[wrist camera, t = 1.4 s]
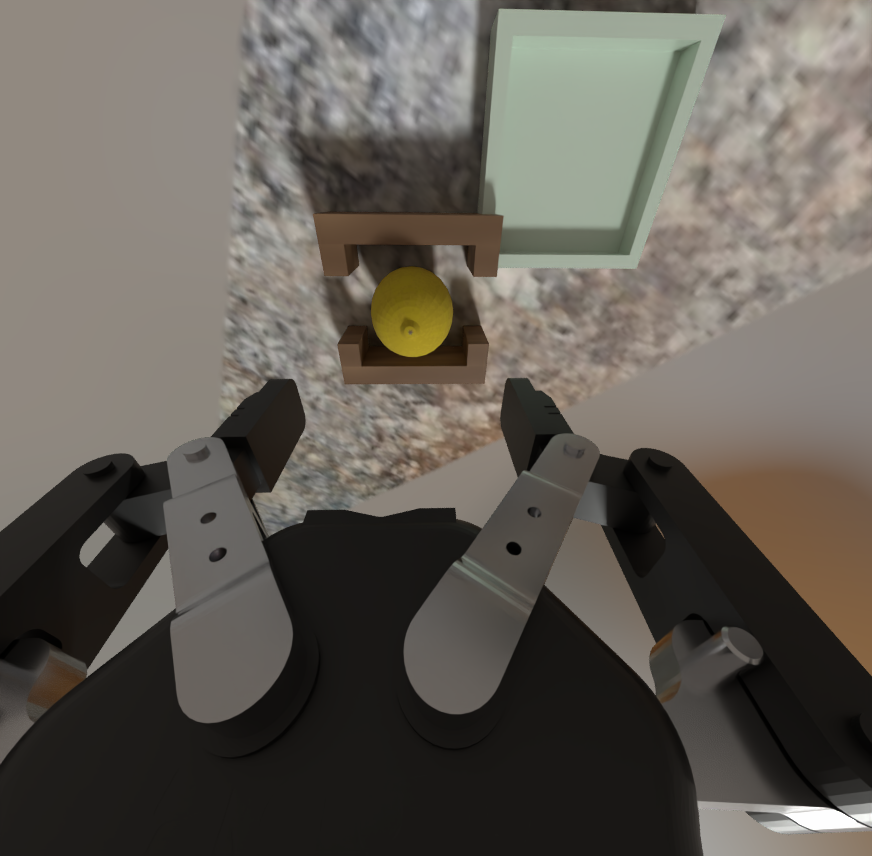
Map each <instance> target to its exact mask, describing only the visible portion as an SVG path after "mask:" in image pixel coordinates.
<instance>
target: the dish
mask: <svg viewBox="0 0 872 856" xmlns="http://www.w3.org/2000/svg"><path fill="white" fill-rule="evenodd" d="M725 17H726V15H715V14H678V13H640V12H603V11H566V10H529V9H499V10H498V12H497V15H496V18H495V20H494V23H493V25H492V28H491V34H490V47H489V61H488V75H487V89H486V102H485V116H484V130H483V144H482V157H481V171H480V185H479V199H478V212H477V213H479V214H498V215H503V216H504V217H503V226H502V235H501V244H500V252H499V261H498V268H632V269H636V268H637V265H638V262H639V260H640V257H641V254H642V251H643V248H644V245H645V243H646V240H647V237H648V234H649V231H650V229H651V226H652V223H653V220H654V217H655V214H656V212H657V209H658V206H659V203H660V200H661V197H662V195H663V192H664V189H665V186H666V183H667V181H668V178H669V175H670V172H671V169H672V166H673V164H674V161H675V158H676V155H677V152H678V150H679V147H680V144H681V141H682V138H683V135H684V133H685V130H686V127H687V124H688V121H689V118H690V116H691V113H692V110H693V107H694V104H695V102H696V99H697V96H698V93H699V90H700V87H701V85H702V82H703V79H704V76H705V73H706V70H707V68H708V65H709V62H710V59H711V56H712V54H713V51H714V48H715V45H716V42H717V39H718V37H719V34H720V31H721V28H722V25H723V23H724V20H725Z"/></svg>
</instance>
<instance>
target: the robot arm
mask: <svg viewBox="0 0 872 856" xmlns="http://www.w3.org/2000/svg"><path fill="white" fill-rule="evenodd" d="M500 421H501V428H502V431H503V434H504V437H505V440H506V443H507V446H508V449H509V452H510V455H511V458H512V461H513V464H514V467H515V470H516V473H517V476H518V478H517V480H516V481H515V483H514V484H513V486H512V487H511V489H510V490H509V491H508V493H507V494H506V496H505V497H504V498H503V500H502V502H501V503H500V504H499V506H498V507H497V508H496V510H495V511H494V513H493V514H492V515H491V517H490V518H489V520H488V521H487V523H486V524H485V525H484V527H483V528H480V527H478V526H476V525H474V524H472V523H469V522H466V521H462V520H458V519H456V512H455V508H419V509H415V510H411V511H406V512H402V513H398V514H393V515H389V516H384V517H376V516H372V515H367V514H362V513H357V512H352V511H348V510H308V511H307V513H306V516H305V519H304V521H303V523H299V524H296V525H293V526H290V527H287V528H285V529H283V530H280V531H278V532H277V533H275V534H273V535H271V536H270V537H269V535H268V533H267V530H266V528H265V525H264V523H263V521H262V518H261V516H260V514H259V511H258V509H257V507H256V504H255V502H254V500H253V496H254V495H255V493H262V492H272V490H273V488H274V486H275V484H276V482H277V480H278V478H279V476H280V474H281V473H282V471H283V469H284V467H285V465H286V463H287V461H288V459H289V457H290V455H291V454H292V452H293V450H294V448H295V446H296V444H297V442H298V440H299V438H300V436H301V435H302V433H303V431H304V428H305V413H304V410H303V406H302V403H301V399H300V396H299V393H298V389H297V386H296V383H295V381H294V380H293V379H270V380H269V381H268V382H267V383H266V384H265V385H264V387H263V388H262V389H261V390H260V391H259V392H256V393H254V394H253V395H251V396H249V397H248V398H246V399H244V401H243V402H242V403H241V404H240V405H239V406H238V407H237V410H234V412H233V413H232V414H231V417H228V418H227V419H226V420H225V422H224V423H223V424H222V425H221V426H220V427H219V428H218V429H217V430H216V432H215V433H214V434H213V435H212V436H211V437H205V438H199V439H195V440H192V441H190V442H187V443H185V444H183V445H181V446H179V447H178V448H176V449H175V450H174V451H173V452H172V453H171V454H170V455H169V456H168V458H167V461H164V462H160V463H155V464H150V465H144V466H140V465H139V464H138V463H137V461H136V460H135V459H134V458H133V456H131V455H129V454H113V455H107V456H104V457H101V458H98V459H95V460H92V461H90V462H88V463H86V464H84V465H82V466H81V467H79V468H77V469H76V470H75V471H73V472H72V473H71V474H70V475H68V476H67V477H66V478H65V479H64V480H62V481H61V482H60V483H59V484H58V485H56V486H55V487H54V488H53V489H52V490H50V491H49V492H48V493H47V494H45V495H44V496H43V497H42V498H41V499H39V500H38V501H37V502H36V503H35V504H34V505H32V506H31V507H30V508H29V509H28V510H26V511H25V512H24V513H23V514H21V515H20V516H19V517H18V518H17V519H15V520H14V521H13V522H12V523H11V524H9V525H8V526H7V527H6V528H4V529H3V530H2V531H1V532H0V856H703V850H702V844H701V837H700V824H699V812H698V809H714V810H733V811H734V810H735V811H745V812H746V813H747V814H748V815H750V816H751V817H752V818H753V819H755V820H756V821H757V822H758V823H760V824H761V825H763V826H765V827H766V828H768V829H770V830H772V831H775V832H778V833H782V834H808V833H832V832H858V831H872V676H871V675H870V674H869V673H868V672H867V671H866V669H865V668H864V667H863V666H862V665H861V664H860V663H859V661H858V660H857V659H856V658H855V657H854V656H853V655H852V654H851V653H850V651H849V650H848V649H847V648H846V647H845V646H844V645H843V643H842V642H841V641H840V640H839V639H838V638H837V637H836V636H835V634H834V633H833V632H832V631H831V630H830V629H829V628H828V627H827V626H826V624H825V623H824V622H823V621H822V620H821V619H820V618H819V616H818V615H817V614H816V613H815V612H814V611H813V610H812V609H811V607H810V606H809V605H808V604H807V603H806V602H805V601H804V600H803V599H802V598H801V596H800V595H799V594H798V593H797V592H796V590H795V589H794V588H793V587H792V586H791V585H790V584H789V583H788V581H787V580H786V579H785V578H784V577H783V576H782V575H781V574H780V573H779V571H778V570H777V569H776V568H775V567H774V566H773V565H772V563H771V562H770V561H769V560H768V559H767V558H766V557H765V556H764V554H763V553H762V552H761V551H760V550H759V549H758V548H757V547H756V545H755V544H754V543H753V542H752V541H751V540H750V539H749V538H748V536H747V535H746V534H745V533H744V532H743V531H742V530H741V529H740V527H739V526H738V525H737V524H736V523H735V522H734V521H733V520H732V518H731V517H730V516H729V515H728V514H727V513H726V512H725V511H724V509H723V508H722V507H721V506H720V505H719V504H718V503H717V501H716V500H715V499H714V498H713V497H712V496H711V495H710V494H709V493H708V491H707V490H706V489H705V488H704V487H703V486H702V485H701V483H699V481H698V480H697V479H696V478H695V477H694V476H693V474H692V473H691V472H690V471H689V470H688V469H687V468H686V467H685V465H684V464H683V463H681V462H680V461H679V460H678V459H676V458H675V457H673V456H671V455H669V454H667V453H665V452H662V451H660V450H656V449H651V448H640V449H637V450H634V451H633V452H632V454H631V455H630V457H629V460H625V459H620V458H615V457H611V456H606V455H602V454H600V451H599V449H598V447H597V446H596V445H595V444H594V443H593V442H592V441H590V440H588V439H587V438H585V437H582V436H579V435H575V434H574V433H573V432H572V430H571V428H570V427H569V425H568V424H567V422H566V421H565V419H564V417H563V416H562V414H560V411H559V409H558V408H556V405H555V403H554V402H553V400H552V398H551V397H549V396H548V395H546V394H545V393H544V392H542V391H535V390H534V388H533V386H532V384H531V383H530V381H529V379H528V378H508V379H507V380H506V383H505V389H504V396H503V402H502V408H501V417H500ZM573 518H577V519H580V520H585V521H588V522H593V523H597V524H600V525H601V526H602V528H603V530H604V532H605V535H606V537H607V539H608V541H609V543H610V545H611V548H612V549H613V552H614V554H615V556H616V558H617V561H618V563H619V564H620V567H621V569H622V571H623V573H624V575H625V578H626V580H627V582H628V584H629V586H630V588H631V590H632V593H633V595H634V597H635V599H636V601H637V603H638V605H639V607H640V610H641V612H642V614H643V616H644V618H645V620H646V623H647V624H648V627H649V629H650V631H651V633H652V635H653V637H654V640H655V642H656V644H655V645H654V646H653V647H652V649H651V651H650V656H649V664H650V670H651V673H652V676H653V679H654V683H655V689H656V695H655V694H654V693H653V691H652V690H651V689H650V688H649V686H648V685H647V684H646V683H645V682H644V681H643V680H642V679H641V678H640V676H639V675H638V674H637V673H636V672H635V671H634V670H633V669H632V668H631V667H629V666H628V665H627V664H626V663H625V662H624V661H623V660H622V659H621V658H620V657H619V656H618V655H617V654H616V653H615V652H614V651H613V650H612V649H611V648H610V647H609V646H608V645H607V644H605V643H604V642H603V641H602V640H601V639H600V638H599V637H598V636H597V635H596V634H595V633H594V632H593V631H592V630H591V629H590V628H589V627H588V626H587V625H586V624H585V623H584V622H583V621H581V620H580V619H579V618H578V617H577V616H576V615H575V614H574V613H573V612H572V611H571V610H570V609H569V608H568V607H567V606H566V605H565V604H564V603H563V602H562V601H561V600H560V599H558V598H557V597H556V596H555V595H554V594H553V593H552V592H551V591H550V590H549V589H548V588H547V587H546V586H545V585H544V584H545V582H546V579H547V577H548V575H549V572H550V570H551V568H552V566H553V563H554V561H555V559H556V556H557V554H558V552H559V549H560V547H561V545H562V542H563V540H564V538H565V536H566V533H567V531H568V529H569V526H570V524H571V522H572V520H573ZM103 522H104V523H105V524H106V525H107V526H108V527H109V528H110V529H111V530H112V531H113V532H114V533H115V535H114V536H113V537H112V539H111V540H110V541H109V542H108V543H107V544H106V546H105V547H104V548H103V549H102V550H101V551H100V553H99V554H98V555H97V556H96V557H95V558H94V560H93V561H92V562H91V563H90V564H89V565H88V567H87V568H86V567H85V566H84V565H83V564H82V563H81V562H80V558H79V555H80V550H81V548H82V546H83V544H84V543H85V541H86V540H87V539H88V538H89V537H90V536H91V535H92V534H93V533H94V532H95V531H96V530H97V529H98V527H99V526H100V525H101V524H102V523H103ZM655 524H657V525H658V527H659V528H660V530H661V532H662V533H663V535H664V538H665V539H664V538H663V536H662V535H661V533H660V532H659V530H658V529H657V527H656V525H655ZM168 548H169V555H170V564H171V572H172V579H173V588H174V596H175V604H176V609H174V610H173V611H172V612H170V613H169V614H168V615H167V616H165V617H164V618H163V619H161V620H160V621H159V622H158V623H156V624H155V625H154V626H152V627H151V628H150V629H149V630H147V631H146V632H145V633H144V634H142V635H141V636H140V637H138V638H137V639H136V640H134V641H133V642H132V643H131V644H129V645H128V646H127V647H126V648H124V649H123V650H122V651H120V652H119V653H118V654H116V655H115V656H114V657H113V658H111V659H110V660H109V661H107V662H106V663H105V664H104V665H102V666H101V667H100V668H99V669H97V670H96V671H95V672H93V673H92V674H91V675H90V676H88V677H87V678H86V676H87V669H88V668H89V666H90V665H91V663H92V662H93V660H94V659H95V657H96V656H97V654H98V653H99V651H100V650H101V648H102V647H103V645H104V644H105V642H106V641H107V639H108V638H109V636H110V635H111V633H112V632H113V630H114V629H115V627H116V626H117V624H118V623H119V621H120V620H121V618H122V617H123V615H124V614H125V612H126V611H127V609H128V608H129V606H130V605H131V603H132V602H133V600H134V599H135V597H136V596H137V594H138V593H139V591H140V590H141V588H142V587H143V585H144V584H145V582H146V581H147V579H148V578H149V576H150V575H151V573H152V572H153V570H154V569H155V567H156V566H157V564H158V563H159V561H160V560H161V558H162V557H163V555H164V554H165V552H166V551H167V550H168Z"/></svg>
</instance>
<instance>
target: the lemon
mask: <svg viewBox="0 0 872 856" xmlns="http://www.w3.org/2000/svg"><path fill="white" fill-rule="evenodd" d="M371 317H372V323H373V327H374V329H375V331H376V334H377V336H378V337H379V339H380V340H381V341H382V343H383V344H384V345H385V346H386V347H387V348H389V349H390V350H391V351H393V352H395V353H397V354H399V355H402V356H407V357H418V356H423V355H426V354H428V353H430V352H432V351H434V350H435V349H436V348H437V347H438V346H439V345H441V344H442V342H443V341H444V339H445V338H446V336H447V335H448V332H449V330H450V327H451V324H452V317H453V307H452V300H451V297H450V294H449V292H448V290H447V288H446V286H445V285H444V284H443V282H442V281H441V279H440V278H438V277H437V276H436V275H435V274H434V273H432V272H431V271H428V270H426V269H424V268H421V267H414V266H409V267H401V268H399V269H397V270H394V271H392V272H390V273H389V274H388V275H387V276H386V277H384V278H383V279H382V281H381V282H380V284H379V285H378V286H377V288H376V290H375V293H374V295H373V298H372V304H371Z"/></svg>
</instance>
